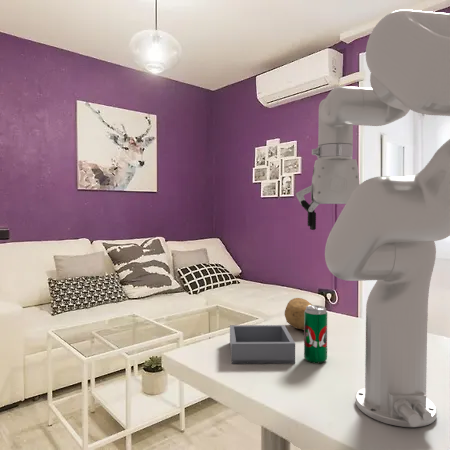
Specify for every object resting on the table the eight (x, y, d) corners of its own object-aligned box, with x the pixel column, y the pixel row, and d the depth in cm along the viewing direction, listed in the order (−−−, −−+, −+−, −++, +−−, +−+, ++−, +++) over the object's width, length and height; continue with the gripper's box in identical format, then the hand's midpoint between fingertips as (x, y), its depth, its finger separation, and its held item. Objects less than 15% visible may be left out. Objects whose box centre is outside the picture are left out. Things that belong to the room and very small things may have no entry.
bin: (295, 363, 86) (295, 343, 86) (231, 364, 86) (231, 343, 86) (284, 342, 100) (284, 325, 100) (229, 342, 100) (229, 325, 100)
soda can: (325, 356, 91) (325, 305, 90) (328, 364, 86) (329, 310, 85) (302, 355, 91) (303, 304, 91) (305, 363, 86) (305, 309, 86)
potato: (288, 336, 105) (288, 306, 105) (281, 321, 119) (281, 295, 119) (324, 336, 105) (324, 306, 105) (313, 321, 119) (313, 295, 119)
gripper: (299, 151, 85) (298, 230, 86) (379, 152, 85) (378, 230, 85) (294, 156, 92) (293, 228, 93) (367, 156, 92) (366, 228, 93)
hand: (333, 229), depth 89 cm, fingers open, 9 cm apart
